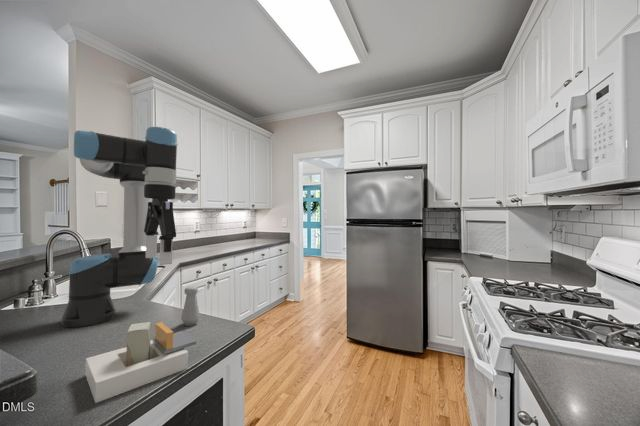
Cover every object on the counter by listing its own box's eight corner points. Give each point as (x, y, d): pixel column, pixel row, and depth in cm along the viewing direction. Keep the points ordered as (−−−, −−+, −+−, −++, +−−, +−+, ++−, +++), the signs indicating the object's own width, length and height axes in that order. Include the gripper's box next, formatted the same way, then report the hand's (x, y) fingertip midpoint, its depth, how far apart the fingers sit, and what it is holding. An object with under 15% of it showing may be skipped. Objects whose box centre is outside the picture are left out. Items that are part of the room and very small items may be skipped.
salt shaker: (192, 327, 93) (192, 289, 93) (177, 326, 94) (178, 288, 94) (202, 321, 99) (203, 285, 99) (188, 320, 100) (189, 284, 100)
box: (129, 368, 68) (131, 323, 68) (150, 364, 69) (151, 320, 70) (125, 379, 63) (126, 331, 63) (147, 375, 65) (148, 328, 65)
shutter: (152, 342, 73) (153, 323, 73) (182, 333, 78) (182, 316, 78) (164, 354, 66) (165, 334, 66) (196, 344, 72) (196, 325, 72)
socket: (85, 375, 64) (86, 358, 64) (168, 349, 77) (168, 335, 78) (95, 403, 55) (95, 383, 55) (188, 368, 68) (188, 352, 68)
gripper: (133, 185, 82) (131, 256, 82) (158, 180, 64) (155, 269, 64) (161, 187, 87) (159, 254, 87) (191, 183, 70) (189, 265, 70)
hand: (157, 260), depth 76 cm, fingers open, 13 cm apart
